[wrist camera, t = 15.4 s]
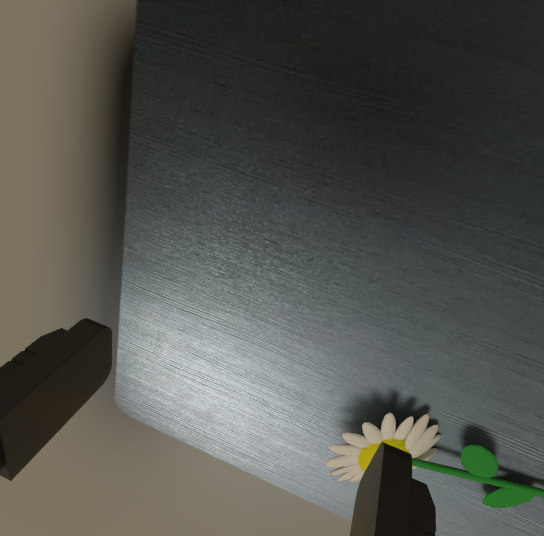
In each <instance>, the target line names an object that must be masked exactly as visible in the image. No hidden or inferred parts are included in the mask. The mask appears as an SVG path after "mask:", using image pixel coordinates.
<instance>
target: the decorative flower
mask: <svg viewBox="0 0 544 536" xmlns="http://www.w3.org/2000/svg"><path fill="white" fill-rule="evenodd" d="M413 420H414V418H413V417H412V416H411V417H408V418H406V419H405V420H404V421H403V422H402V423H401V424H400V426H399V427H398V428H397V430H396V420H395V417H394V415H393V414H392V413H388V414H387V415H385V417H384V419H383V421H382V425H381V431H380V430H379V429H378V428H377V427H376V426H375V425H373V424H371V423H370V422H365V423H364V424H363V425H362V429H363V433H364V435H365V437H364V436H362V435H359V434H356V433H348V432H347V433H344V434H342V438H343V439H344V440H345V441H346V442H348V443H349V444H351V445H348V444H336V445H332V446H330V447H329V449H330V450H331V451H333V452H334V453H337V454H342V455H341V456H337V457H334V458H332V459H329V460H327V461H326V463H325V465H327V466H329V467H340V468H337V469H335V470H333V471H331V472H330V473H329V475H338V474H342V475H341V476H340V477H339V478H338V479H337V481H344V480H347V479H350V478H352V479H351V481H353V482H355V481H359V480H361V479H362V476H363V474H364V472H365V470H366V469H367V467H368V465H369V463H370V461H371V460H372V458H373V456H374V454H375V452H376V451H377V449H378V447H379V445H380V444H381V443H382V442H384V443H386V444H389V445H391V446H394V447H396V448H398V449H401V450H403V451H406V452H408V453H410V454H411V455H412V469H415V468H417V467H420V468H424V469H428V470H433V471H437V472H441V473H445V474H449V475H453V476H457V477H461V478H466V479H470V480H474V481H478V482H482V483H486V484H490V485H494V486H499V487H503V488H501V489H498V490H495V491H493V492H490V493H488V494H487V495H486V496H485V497H484V498H483V504H485V505H487V506H489V507H497V508H506V507H511V506H516V505H520V504H523V503H526V502H529V501H530V500H531V499H532V498H533V497H534V496H535V495H536V496H540V497H544V489H540V488H536V487H532V486H528V485H524V484H520V483H516V482H511V481H507V480H503V479H499V478H495V477H493V476H495V475H496V472H497V470H498V464H497V459H496V458H495V457H494V455H493V454H492V453H491V452H490V451H489V450H487V449H485V448H484V447H482V446H479V445H469V446H467V447H465V448H463V450H462V453H461V461H462V465H463V466H464V467H465V469H466V470H467V471H466V470H462V469H457V468H453V467H449V466H445V465H441V464H437V463H432V462H428V459H429V458H431V457H432V456H434V455H435V454H436V453H437V451H438V450H437V448H431V447H432V446H434V444H435V443H436V442H437V441H438V440H439V439H440V437H441V435H437V436H435V434H436V433H437V431H438V425H433V426H431V427H428V428H427V429H426V427H427V424H428V421H429V416H428V414H426V415H423V416H422V417H421V418H420V419H418V420H417V422H416V423H415V424H414V426H413ZM412 426H413V427H412ZM395 431H396V432H395Z"/></svg>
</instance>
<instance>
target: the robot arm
mask: <svg viewBox="0 0 544 536" xmlns="http://www.w3.org/2000/svg"><path fill="white" fill-rule="evenodd" d="M111 366H112V330H111V328H109V327H107V326H104V325H102V324H100V323H97V322H95V321H92V320H90V319H86V318H85V319H82V320H80V321H79V322H78V323H77V324H75V325H74V326H73V327H72V328H70V329H69V330H68V331H67V330H64V329H62V328H61V329H59V330H56V331H53V332H51V333H48V334H46V335H43V336H41V337H40V338H39V339H37V340H36V341H35V342H33V343H32V344H31V345H29V346H28V347H27V348H25V351H21V352H20V353H19V354H18V355H16V356H15V357H13V358H12V360H11V361H8V362H7V363H6V364H4V365H3V366H2V367H0V475H1V476H2V477H4V478H6V479H8V480H10V481H11V480H12V479H13V478H14V477H15V476H16V475H17V474H18V473H19V472H20V471H21V470H22V469H23V468H24V467H25V466H26V464H28V462H29V461H30V460H31V459H32V458H33V457H34V456H35V455H36V454H37V453H38V452H39V451H40V450H41V449H42V448H43V446H45V445H46V443H48V442H49V440H50V439H51V438H52V437H53V436H54V435H55V434H56V433H57V432H58V431H59V430H60V429H61V428H62V427H63V426H64V425H65V424H66V423H67V421H68V420H69V419H70V418H71V417H72V416H73V415H74V414H75V413H76V412H77V411H78V410H79V409H80V408H81V407H82V406H83V405H84V404H85V402H86V401H88V399H89V398H90V397H91V396H92V395H93V394H94V393H95V392H96V391H97V390H98V389H99V388H100V387H101V386H102V385H103V384H104V382H105V381H106V379H107V377H108V375H109V373H110V370H111ZM435 532H436V512H435V505H434V503H433V500H432V497H431V495H430V492H429V489H428V487H427V484H424V483H422V482H420V481H417V480H415V479H413V478H412V455H411V454H410V453H408V452H406V451H403V450H401V449H398V448H396V447H394V446H391V445H389V444H386V443H384V442H382V443H381V444H380V445H379V447H378V449H377V451H376V452H375V454H374V456H373V458H372V460H371V461H370V463H369V465H368V467H367V469H366V470H365V472H364V474H363V476H362V479H361V481H360V484H359V487H358V491H357V495H356V500H355V506H354V513H353V519H352V525H351V531H350V536H435Z"/></svg>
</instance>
